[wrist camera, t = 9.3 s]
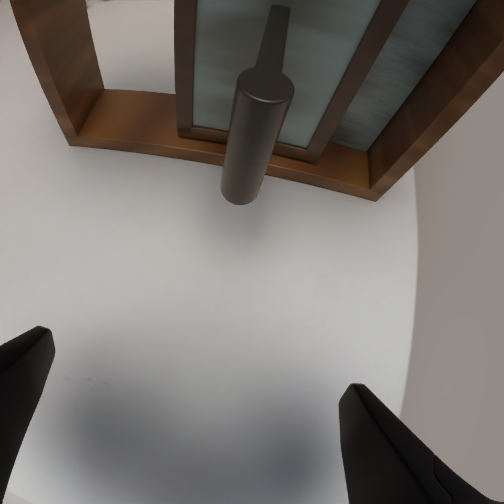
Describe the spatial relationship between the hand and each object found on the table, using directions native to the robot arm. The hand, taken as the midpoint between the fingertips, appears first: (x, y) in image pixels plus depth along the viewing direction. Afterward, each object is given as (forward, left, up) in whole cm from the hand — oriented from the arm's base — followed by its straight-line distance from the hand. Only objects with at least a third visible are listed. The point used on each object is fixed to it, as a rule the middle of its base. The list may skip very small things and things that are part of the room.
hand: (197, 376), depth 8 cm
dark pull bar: (+10, -3, -7) cm, 13 cm away
